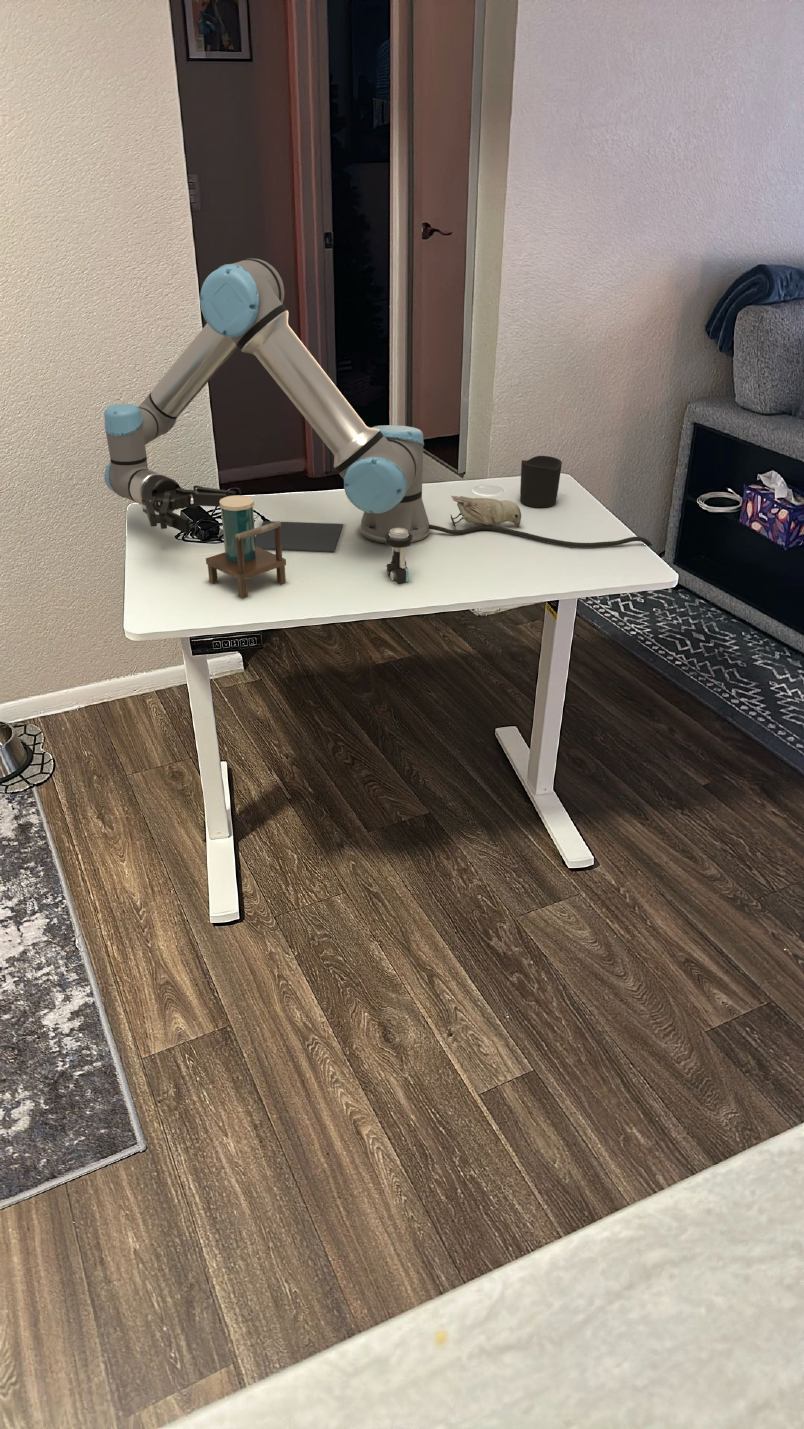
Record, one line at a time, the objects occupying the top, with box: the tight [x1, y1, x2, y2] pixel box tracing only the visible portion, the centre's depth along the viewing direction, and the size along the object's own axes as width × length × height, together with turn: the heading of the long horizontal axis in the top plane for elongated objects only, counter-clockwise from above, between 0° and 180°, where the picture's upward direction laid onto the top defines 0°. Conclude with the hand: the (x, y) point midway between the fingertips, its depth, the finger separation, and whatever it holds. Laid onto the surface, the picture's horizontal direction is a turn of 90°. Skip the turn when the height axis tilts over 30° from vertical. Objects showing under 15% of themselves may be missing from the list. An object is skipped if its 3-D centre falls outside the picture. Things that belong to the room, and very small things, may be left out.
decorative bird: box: [449, 495, 522, 530], centre depth 213 cm, size 5×16×8 cm, turn 94°
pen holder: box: [519, 455, 563, 509], centre depth 227 cm, size 9×9×10 cm
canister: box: [219, 494, 256, 562], centre depth 182 cm, size 6×6×11 cm
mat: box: [255, 520, 344, 553], centre depth 208 cm, size 18×16×1 cm
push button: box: [385, 528, 413, 585], centre depth 187 cm, size 7×5×10 cm
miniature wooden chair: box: [205, 520, 287, 599], centre depth 184 cm, size 11×11×13 cm
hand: (217, 518), depth 186 cm, fingers open, 13 cm apart
